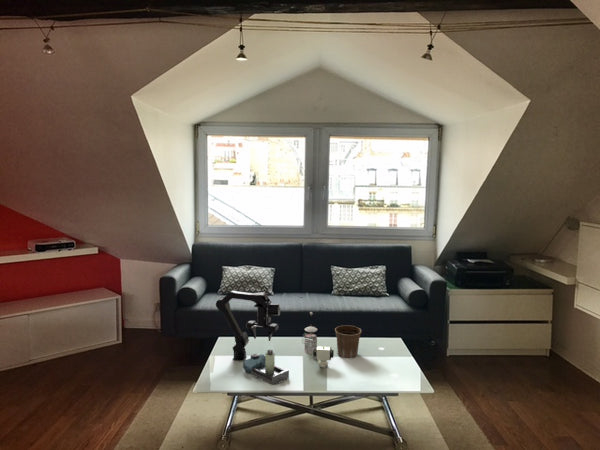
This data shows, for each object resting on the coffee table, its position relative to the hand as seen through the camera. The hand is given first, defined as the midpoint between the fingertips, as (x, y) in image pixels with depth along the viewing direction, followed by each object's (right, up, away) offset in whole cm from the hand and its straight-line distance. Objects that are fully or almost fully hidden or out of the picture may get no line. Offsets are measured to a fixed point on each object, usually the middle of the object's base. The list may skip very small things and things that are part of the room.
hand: (262, 339), depth 261 cm
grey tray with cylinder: (+3, -15, -16) cm, 22 cm away
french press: (+28, -12, +17) cm, 35 cm away
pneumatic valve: (+36, -14, -4) cm, 39 cm away
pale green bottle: (+6, -13, -18) cm, 23 cm away
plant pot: (+52, -13, +11) cm, 54 cm away
